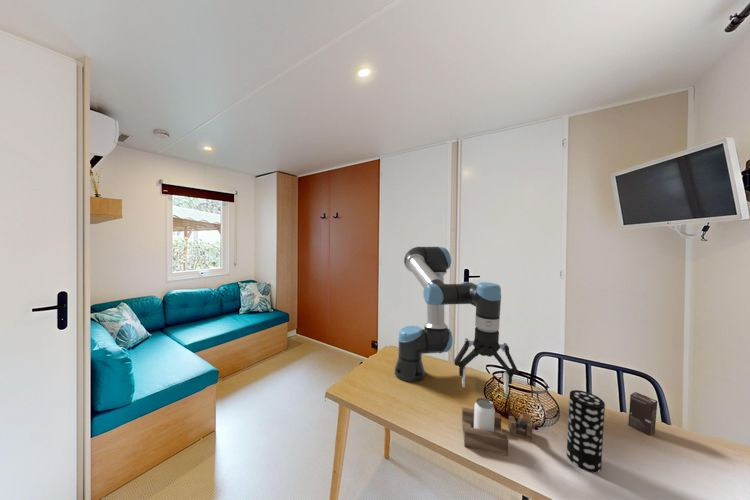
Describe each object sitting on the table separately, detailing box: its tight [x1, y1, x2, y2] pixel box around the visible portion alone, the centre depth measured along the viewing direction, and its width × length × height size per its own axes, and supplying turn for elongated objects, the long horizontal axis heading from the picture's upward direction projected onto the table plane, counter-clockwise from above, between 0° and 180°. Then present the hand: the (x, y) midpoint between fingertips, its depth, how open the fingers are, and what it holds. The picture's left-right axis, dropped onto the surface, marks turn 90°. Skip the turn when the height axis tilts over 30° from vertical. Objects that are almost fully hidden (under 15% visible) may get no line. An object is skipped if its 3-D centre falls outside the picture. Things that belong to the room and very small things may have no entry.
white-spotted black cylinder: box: [566, 389, 606, 473], centre depth 79 cm, size 8×8×20 cm
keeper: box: [516, 412, 532, 430], centre depth 87 cm, size 11×3×2 cm
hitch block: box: [461, 406, 533, 457], centre depth 87 cm, size 14×23×5 cm, turn 75°
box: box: [627, 391, 658, 437], centre depth 93 cm, size 6×4×12 cm
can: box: [473, 397, 496, 432], centre depth 88 cm, size 6×6×12 cm
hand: (484, 388), depth 88 cm, fingers open, 13 cm apart
